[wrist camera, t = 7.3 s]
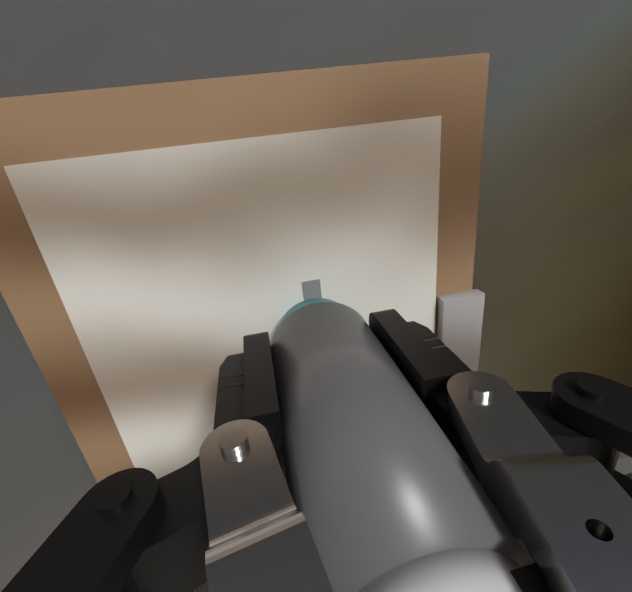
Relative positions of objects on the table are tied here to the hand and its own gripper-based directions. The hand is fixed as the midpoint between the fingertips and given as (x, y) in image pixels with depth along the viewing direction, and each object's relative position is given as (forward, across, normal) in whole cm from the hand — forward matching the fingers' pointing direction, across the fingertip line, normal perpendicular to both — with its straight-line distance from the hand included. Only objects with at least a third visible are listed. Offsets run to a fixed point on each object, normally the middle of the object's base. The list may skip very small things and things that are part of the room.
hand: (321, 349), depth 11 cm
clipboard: (+3, +1, +2) cm, 4 cm away
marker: (+1, 0, 0) cm, 1 cm away
